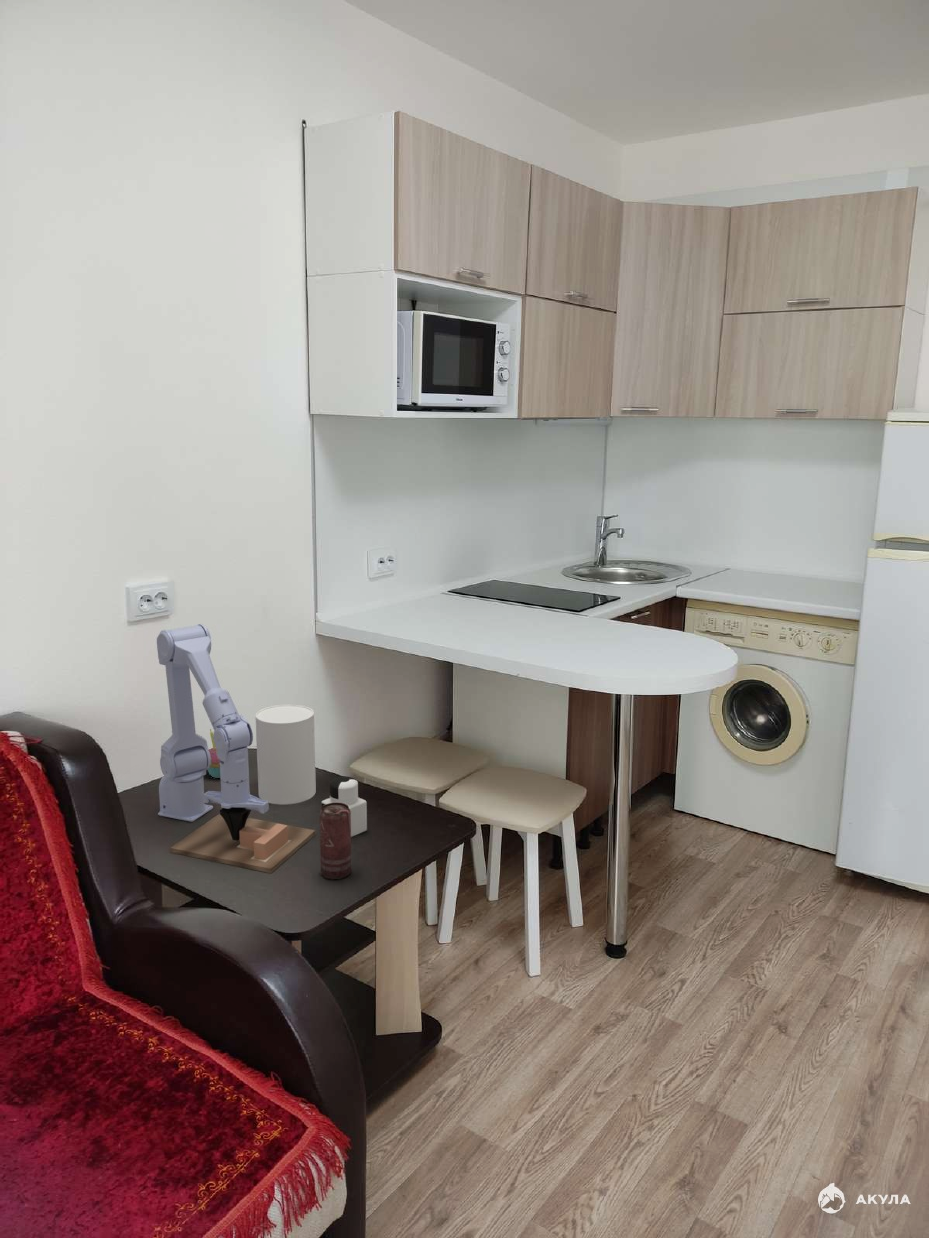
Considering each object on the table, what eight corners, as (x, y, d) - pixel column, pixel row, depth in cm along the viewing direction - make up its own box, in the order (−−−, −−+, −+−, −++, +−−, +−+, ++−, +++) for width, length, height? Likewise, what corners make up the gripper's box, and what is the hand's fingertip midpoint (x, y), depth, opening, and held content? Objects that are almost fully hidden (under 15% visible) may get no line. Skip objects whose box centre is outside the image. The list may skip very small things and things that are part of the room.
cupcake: (196, 780, 224) (194, 734, 221) (211, 767, 232) (209, 722, 229) (229, 782, 222) (227, 736, 220) (243, 769, 231) (241, 725, 228)
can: (347, 882, 177) (346, 816, 174) (316, 878, 178) (314, 812, 175) (356, 867, 183) (356, 803, 180) (327, 863, 184) (325, 799, 181)
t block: (231, 853, 186) (230, 837, 185) (255, 834, 194) (254, 819, 193) (264, 860, 183) (264, 844, 182) (288, 840, 191) (287, 825, 190)
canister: (246, 795, 215) (243, 716, 211) (285, 776, 227) (283, 700, 222) (289, 809, 209) (286, 727, 204) (327, 789, 220) (325, 711, 215)
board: (170, 852, 188) (170, 847, 188) (221, 816, 204) (221, 812, 204) (271, 873, 180) (270, 868, 180) (315, 834, 196) (315, 830, 196)
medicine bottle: (321, 830, 198) (320, 779, 196) (346, 820, 203) (345, 770, 201) (342, 841, 194) (341, 789, 191) (367, 830, 199) (367, 779, 196)
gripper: (193, 779, 185) (196, 840, 189) (254, 790, 181) (256, 852, 184) (213, 767, 192) (216, 826, 195) (273, 777, 187) (275, 837, 190)
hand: (237, 838), depth 190 cm, fingers closed
